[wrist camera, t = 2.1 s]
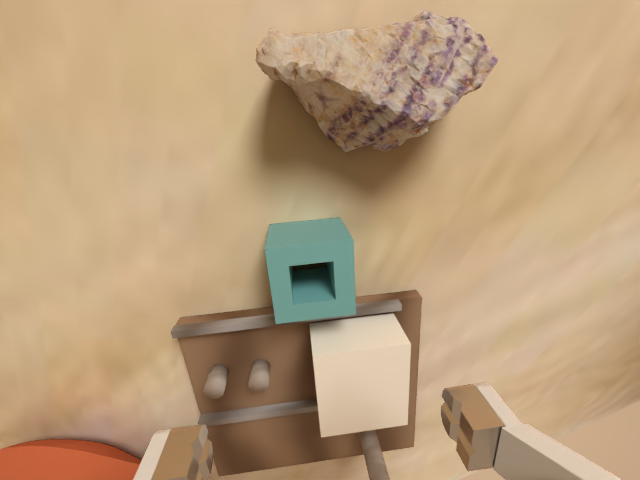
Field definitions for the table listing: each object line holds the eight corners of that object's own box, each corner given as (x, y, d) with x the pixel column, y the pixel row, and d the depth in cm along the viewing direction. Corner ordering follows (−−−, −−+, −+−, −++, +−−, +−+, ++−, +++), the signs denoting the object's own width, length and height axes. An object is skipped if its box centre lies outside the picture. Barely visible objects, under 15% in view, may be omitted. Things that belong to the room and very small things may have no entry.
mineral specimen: (276, 157, 21) (271, 167, 15) (260, 39, 19) (246, -2, 13) (449, 140, 22) (507, 143, 16) (456, 24, 19) (528, -22, 13)
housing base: (416, 288, 26) (453, 335, 20) (409, 435, 32) (435, 502, 26) (179, 316, 24) (145, 374, 19) (221, 463, 31) (206, 541, 25)
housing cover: (393, 313, 25) (411, 343, 21) (392, 386, 27) (407, 424, 24) (309, 323, 24) (312, 356, 21) (316, 397, 27) (320, 437, 23)
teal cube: (340, 217, 23) (353, 239, 18) (343, 279, 25) (355, 314, 20) (269, 224, 23) (264, 249, 18) (278, 287, 24) (275, 324, 20)
